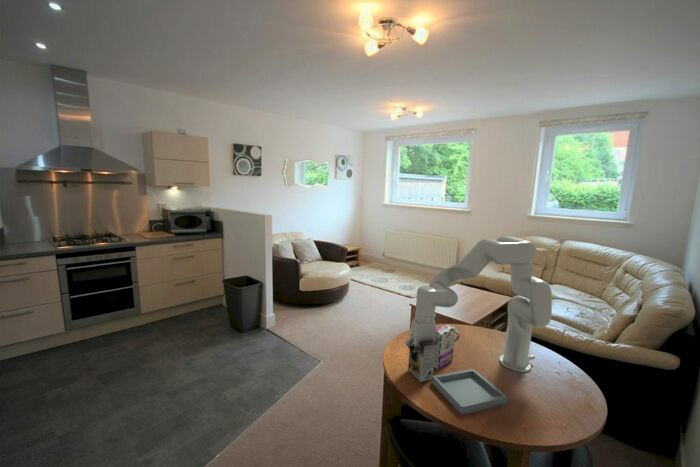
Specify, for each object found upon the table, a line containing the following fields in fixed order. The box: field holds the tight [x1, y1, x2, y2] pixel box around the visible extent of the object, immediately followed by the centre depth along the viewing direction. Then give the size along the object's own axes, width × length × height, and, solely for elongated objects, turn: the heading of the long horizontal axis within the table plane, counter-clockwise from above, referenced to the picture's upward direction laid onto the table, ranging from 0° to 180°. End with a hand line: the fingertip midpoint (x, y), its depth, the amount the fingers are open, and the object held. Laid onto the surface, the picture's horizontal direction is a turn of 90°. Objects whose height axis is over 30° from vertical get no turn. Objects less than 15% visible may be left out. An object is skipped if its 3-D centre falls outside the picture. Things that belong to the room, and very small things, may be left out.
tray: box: [431, 368, 509, 416], centre depth 118 cm, size 20×18×3 cm
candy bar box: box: [434, 323, 456, 371], centre depth 136 cm, size 11×5×16 cm, turn 131°
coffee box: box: [407, 340, 436, 383], centre depth 127 cm, size 9×6×16 cm
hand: (421, 358), depth 127 cm, fingers closed on coffee box, 6 cm apart
